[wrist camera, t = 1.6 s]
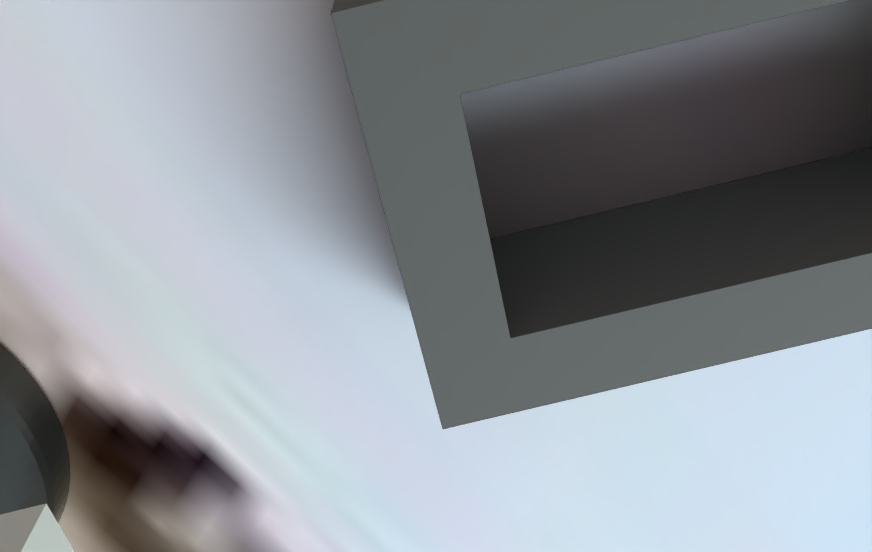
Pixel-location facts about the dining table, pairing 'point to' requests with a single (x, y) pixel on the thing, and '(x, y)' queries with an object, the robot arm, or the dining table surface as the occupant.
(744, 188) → the grey storage bin
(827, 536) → the dining table surface
